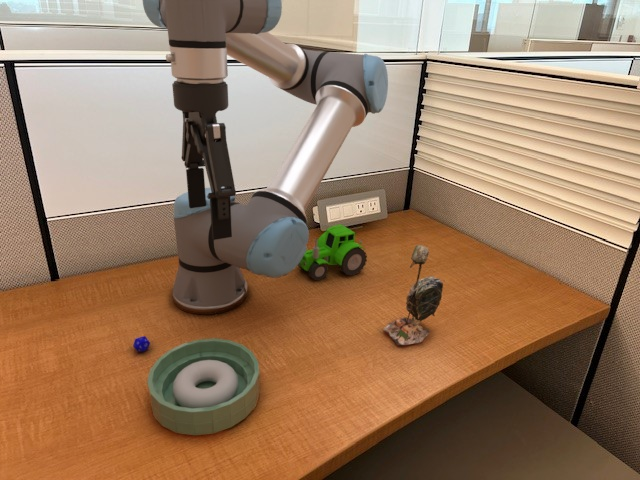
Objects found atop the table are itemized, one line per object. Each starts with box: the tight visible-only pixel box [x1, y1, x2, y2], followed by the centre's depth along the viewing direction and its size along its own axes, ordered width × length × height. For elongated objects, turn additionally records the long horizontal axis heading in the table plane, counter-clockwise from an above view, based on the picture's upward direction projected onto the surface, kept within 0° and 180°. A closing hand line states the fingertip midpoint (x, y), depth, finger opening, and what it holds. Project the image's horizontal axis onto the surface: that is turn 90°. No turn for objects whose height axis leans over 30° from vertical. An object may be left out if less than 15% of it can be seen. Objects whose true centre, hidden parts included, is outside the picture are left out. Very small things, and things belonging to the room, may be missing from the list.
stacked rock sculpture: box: [382, 244, 446, 346], centre depth 88 cm, size 8×11×20 cm
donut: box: [172, 360, 239, 408], centre depth 74 cm, size 10×4×10 cm
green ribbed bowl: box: [146, 337, 261, 436], centre depth 74 cm, size 16×16×5 cm
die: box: [132, 335, 151, 354], centre depth 84 cm, size 3×3×3 cm
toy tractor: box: [296, 223, 368, 281], centre depth 112 cm, size 11×16×10 cm
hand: (209, 221), depth 75 cm, fingers open, 13 cm apart
